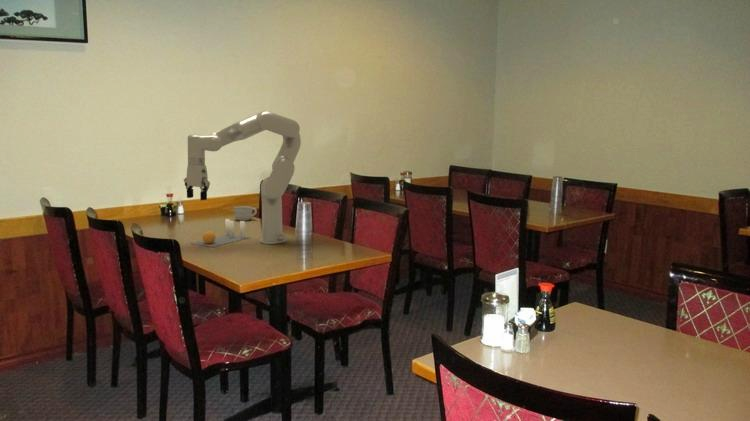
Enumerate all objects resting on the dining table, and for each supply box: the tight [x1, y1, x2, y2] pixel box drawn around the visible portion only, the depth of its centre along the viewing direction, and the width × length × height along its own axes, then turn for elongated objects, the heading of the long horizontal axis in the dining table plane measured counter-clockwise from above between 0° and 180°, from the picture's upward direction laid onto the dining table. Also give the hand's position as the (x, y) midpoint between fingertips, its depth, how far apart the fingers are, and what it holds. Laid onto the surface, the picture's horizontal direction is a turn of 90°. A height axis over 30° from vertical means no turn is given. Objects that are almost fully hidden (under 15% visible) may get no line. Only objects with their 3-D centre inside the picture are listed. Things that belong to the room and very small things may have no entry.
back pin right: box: [224, 218, 231, 236], centre depth 296 cm, size 2×2×8 cm
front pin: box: [229, 220, 235, 238], centre depth 292 cm, size 2×2×8 cm
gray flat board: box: [190, 234, 252, 248], centre depth 287 cm, size 14×26×1 cm, turn 149°
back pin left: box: [239, 221, 246, 238], centre depth 291 cm, size 2×2×8 cm
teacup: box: [233, 205, 258, 222], centre depth 340 cm, size 14×11×8 cm
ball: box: [202, 230, 217, 244], centre depth 279 cm, size 6×6×6 cm
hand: (196, 198), depth 272 cm, fingers open, 9 cm apart
